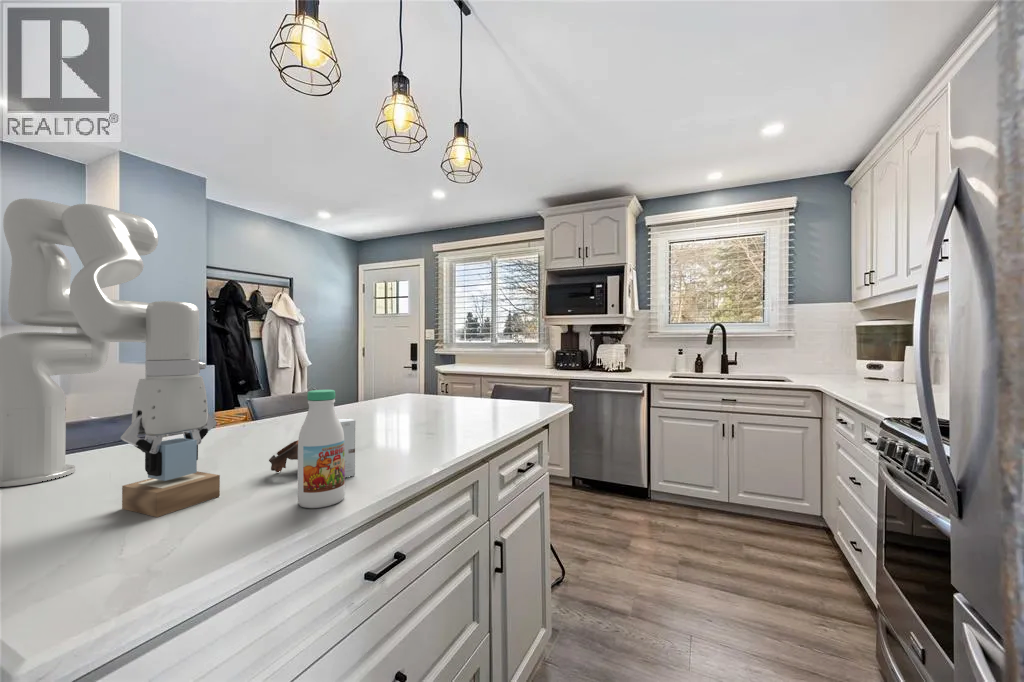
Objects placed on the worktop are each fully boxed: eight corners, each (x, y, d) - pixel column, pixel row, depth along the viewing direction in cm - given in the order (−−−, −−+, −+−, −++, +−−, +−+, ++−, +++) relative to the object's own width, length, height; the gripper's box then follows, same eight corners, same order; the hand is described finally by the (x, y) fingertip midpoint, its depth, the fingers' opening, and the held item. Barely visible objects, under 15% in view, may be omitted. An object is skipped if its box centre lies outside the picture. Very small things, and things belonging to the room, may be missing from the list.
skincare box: (327, 482, 84) (327, 423, 85) (319, 477, 88) (319, 420, 88) (356, 475, 89) (356, 419, 89) (348, 471, 92) (347, 417, 92)
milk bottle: (287, 508, 71) (287, 392, 71) (315, 492, 79) (315, 388, 79) (328, 510, 70) (328, 393, 70) (353, 494, 77) (352, 388, 78)
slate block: (148, 477, 73) (148, 443, 73) (179, 469, 77) (179, 437, 78) (165, 480, 71) (165, 446, 71) (196, 472, 76) (196, 439, 76)
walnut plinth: (122, 508, 71) (122, 485, 71) (185, 490, 81) (185, 469, 81) (157, 517, 68) (157, 492, 68) (219, 496, 77) (219, 474, 77)
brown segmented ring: (313, 481, 87) (290, 450, 85) (277, 499, 88) (254, 469, 86) (338, 453, 98) (318, 424, 97) (306, 469, 100) (286, 441, 98)
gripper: (208, 367, 84) (208, 456, 84) (100, 372, 68) (99, 482, 68) (233, 367, 81) (233, 460, 81) (127, 373, 65) (126, 488, 65)
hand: (172, 469), depth 74 cm, fingers closed on slate block, 4 cm apart
